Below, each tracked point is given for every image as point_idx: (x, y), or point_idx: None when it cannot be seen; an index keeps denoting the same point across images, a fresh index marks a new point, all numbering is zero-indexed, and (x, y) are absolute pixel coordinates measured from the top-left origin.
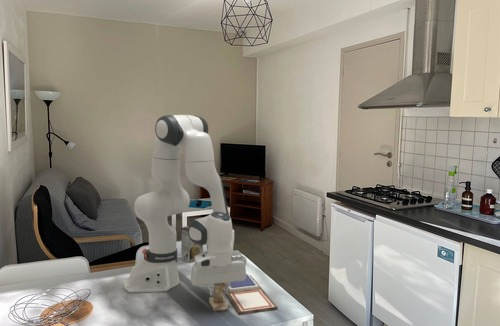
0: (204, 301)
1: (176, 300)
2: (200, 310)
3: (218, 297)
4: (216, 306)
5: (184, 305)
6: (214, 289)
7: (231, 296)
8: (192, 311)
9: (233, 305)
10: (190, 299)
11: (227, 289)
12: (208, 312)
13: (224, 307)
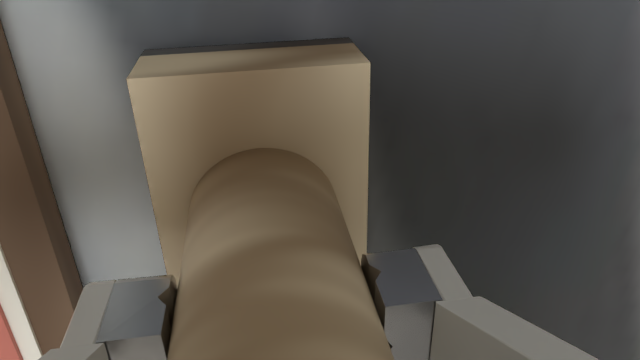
0: None
1: (629, 348)
2: (491, 128)
3: (287, 195)
4: (325, 61)
5: (605, 257)
6: (385, 340)
7: None
8: (584, 122)
9: (31, 152)
10: None
11: (64, 340)
12: (414, 59)
13: (185, 62)
